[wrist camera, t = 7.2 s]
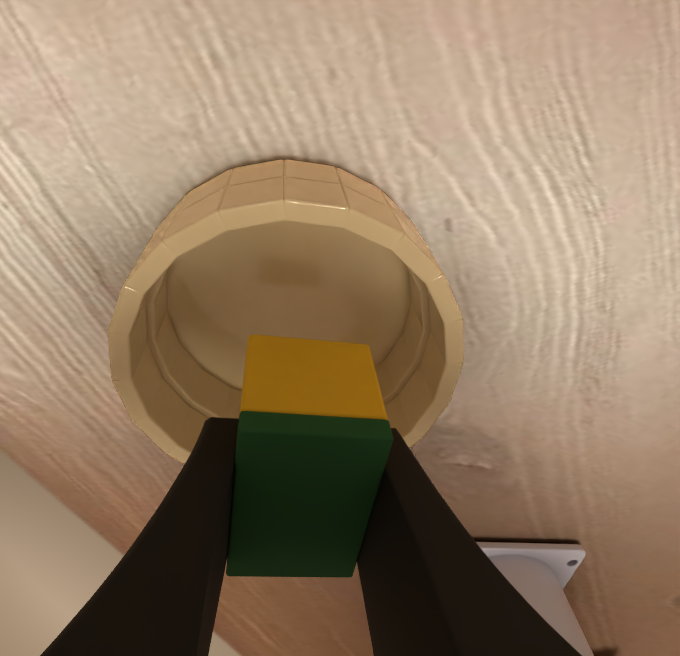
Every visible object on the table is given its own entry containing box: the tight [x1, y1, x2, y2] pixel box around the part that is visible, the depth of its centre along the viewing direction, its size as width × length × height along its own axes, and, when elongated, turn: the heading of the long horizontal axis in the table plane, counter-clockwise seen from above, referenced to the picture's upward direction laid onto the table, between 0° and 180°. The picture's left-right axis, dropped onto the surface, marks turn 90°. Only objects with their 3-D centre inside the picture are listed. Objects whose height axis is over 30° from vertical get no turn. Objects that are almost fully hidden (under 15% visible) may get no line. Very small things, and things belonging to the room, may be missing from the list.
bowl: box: [108, 160, 464, 464], centre depth 15 cm, size 9×9×4 cm
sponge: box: [226, 334, 393, 577], centre depth 10 cm, size 4×3×3 cm, turn 171°
